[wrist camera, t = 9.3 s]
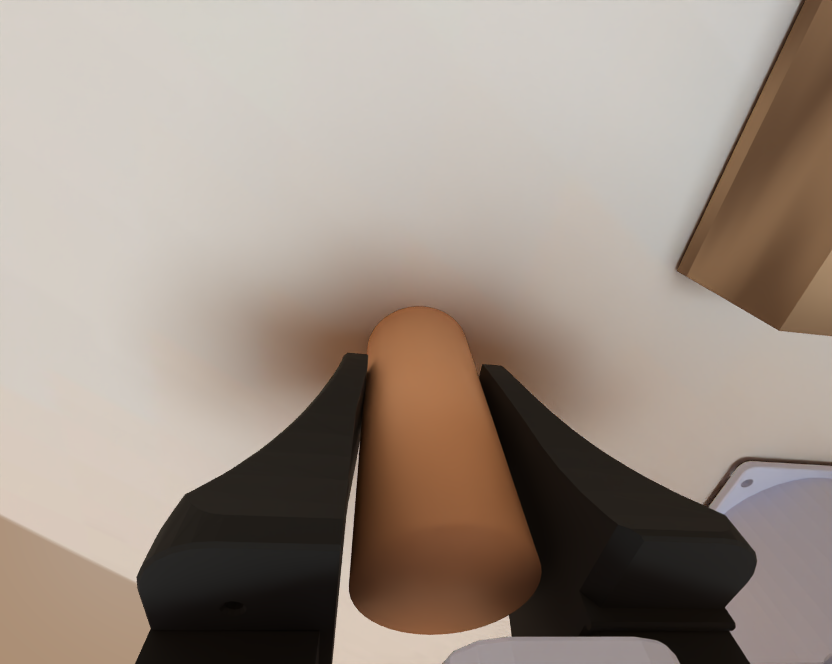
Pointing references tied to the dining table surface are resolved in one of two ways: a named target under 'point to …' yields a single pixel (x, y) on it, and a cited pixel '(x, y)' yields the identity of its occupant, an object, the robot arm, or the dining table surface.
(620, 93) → the dining table surface
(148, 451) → the dining table surface
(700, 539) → the robot arm
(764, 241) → the socket block
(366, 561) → the dowel
